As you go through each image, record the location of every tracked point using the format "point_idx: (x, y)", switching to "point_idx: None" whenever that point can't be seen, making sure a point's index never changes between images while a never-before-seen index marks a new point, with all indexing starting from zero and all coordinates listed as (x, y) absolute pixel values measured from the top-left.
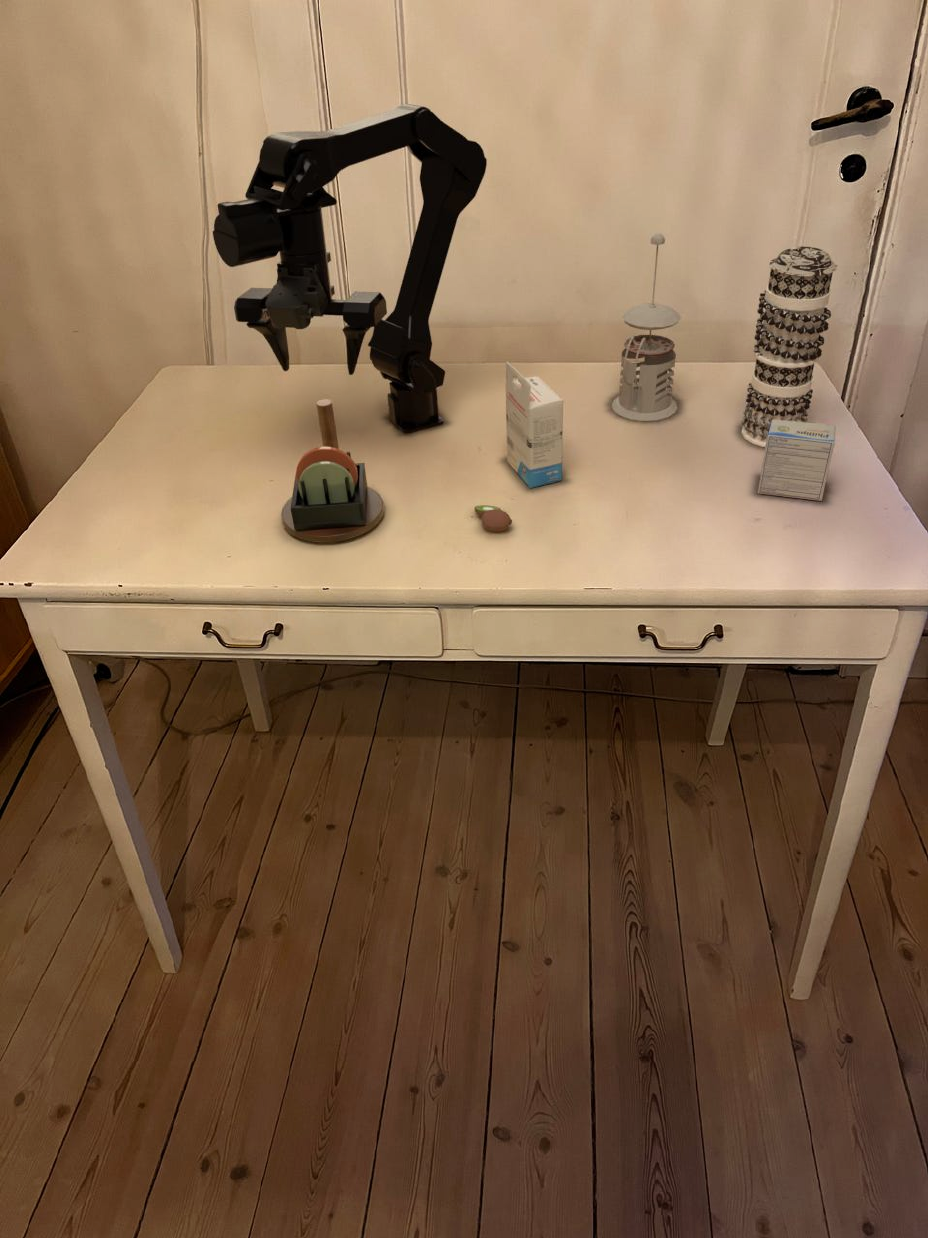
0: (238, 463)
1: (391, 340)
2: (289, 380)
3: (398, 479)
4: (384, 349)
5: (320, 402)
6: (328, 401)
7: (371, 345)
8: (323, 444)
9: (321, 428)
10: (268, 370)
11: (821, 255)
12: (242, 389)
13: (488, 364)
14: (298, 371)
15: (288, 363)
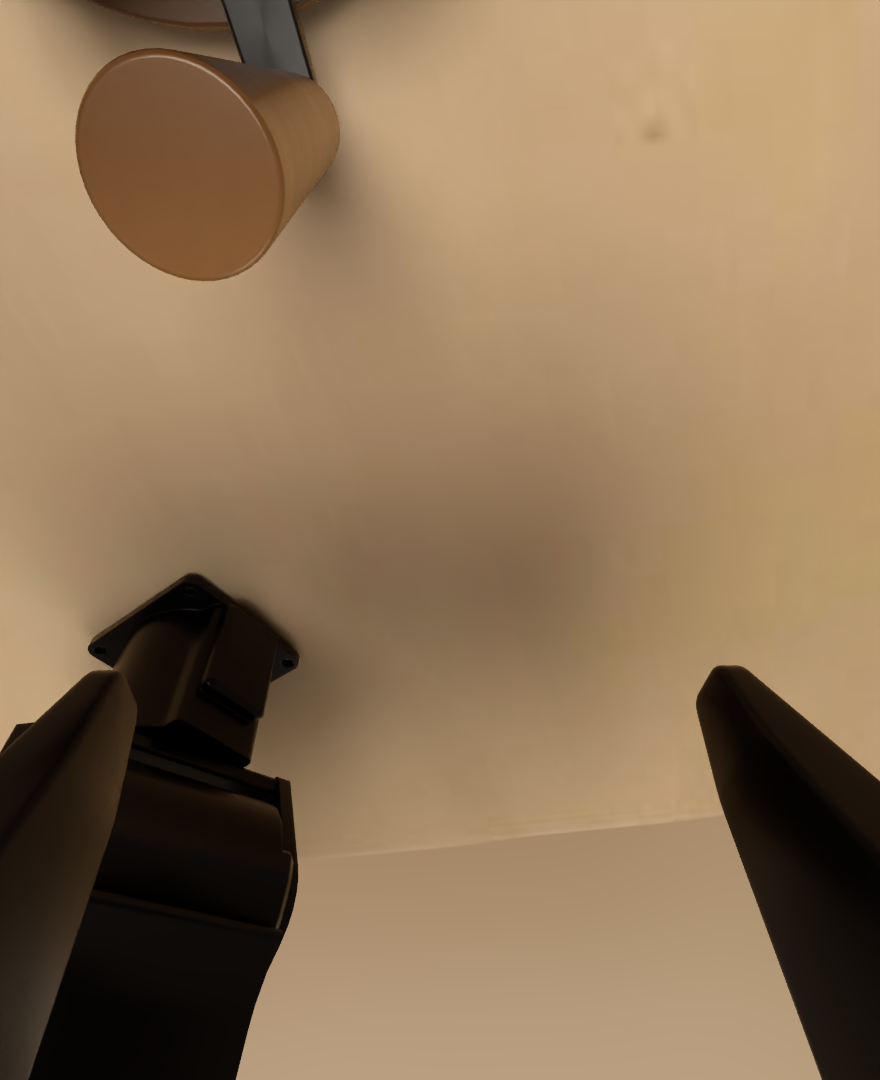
0: (818, 294)
1: (81, 991)
2: (659, 773)
3: (11, 210)
4: (143, 923)
5: (229, 177)
6: (140, 215)
7: (254, 936)
8: (303, 88)
9: (274, 77)
10: None
11: None
12: None
13: None
14: (640, 805)
15: (712, 738)
